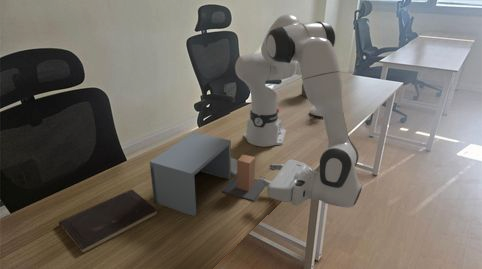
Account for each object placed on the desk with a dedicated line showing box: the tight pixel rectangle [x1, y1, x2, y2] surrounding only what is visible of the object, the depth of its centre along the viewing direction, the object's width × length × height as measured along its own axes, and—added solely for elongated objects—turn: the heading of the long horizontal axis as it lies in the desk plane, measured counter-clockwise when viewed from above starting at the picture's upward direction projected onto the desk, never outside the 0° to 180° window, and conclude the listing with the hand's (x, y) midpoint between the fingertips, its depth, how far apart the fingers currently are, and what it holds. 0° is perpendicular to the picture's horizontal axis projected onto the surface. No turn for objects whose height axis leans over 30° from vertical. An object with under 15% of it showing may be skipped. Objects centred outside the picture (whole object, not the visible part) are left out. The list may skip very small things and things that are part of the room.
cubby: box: [149, 131, 232, 217], centre depth 110 cm, size 24×15×15 cm, turn 154°
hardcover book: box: [58, 188, 159, 254], centre depth 98 cm, size 16×23×2 cm
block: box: [236, 154, 256, 191], centre depth 112 cm, size 4×4×11 cm
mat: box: [221, 175, 266, 202], centre depth 115 cm, size 12×12×1 cm
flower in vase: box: [309, 106, 323, 118], centre depth 175 cm, size 13×11×25 cm
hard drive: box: [231, 156, 238, 177], centre depth 128 cm, size 2×8×12 cm
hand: (264, 172), depth 108 cm, fingers open, 8 cm apart
